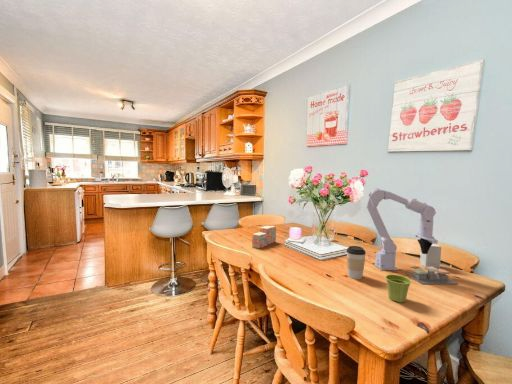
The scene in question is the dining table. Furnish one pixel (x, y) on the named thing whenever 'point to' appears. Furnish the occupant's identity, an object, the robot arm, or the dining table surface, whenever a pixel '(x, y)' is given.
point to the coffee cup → (355, 261)
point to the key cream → (431, 270)
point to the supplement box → (431, 257)
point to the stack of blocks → (264, 236)
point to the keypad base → (431, 278)
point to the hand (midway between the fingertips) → (424, 253)
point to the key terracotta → (442, 272)
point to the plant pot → (397, 287)
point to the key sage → (420, 271)
